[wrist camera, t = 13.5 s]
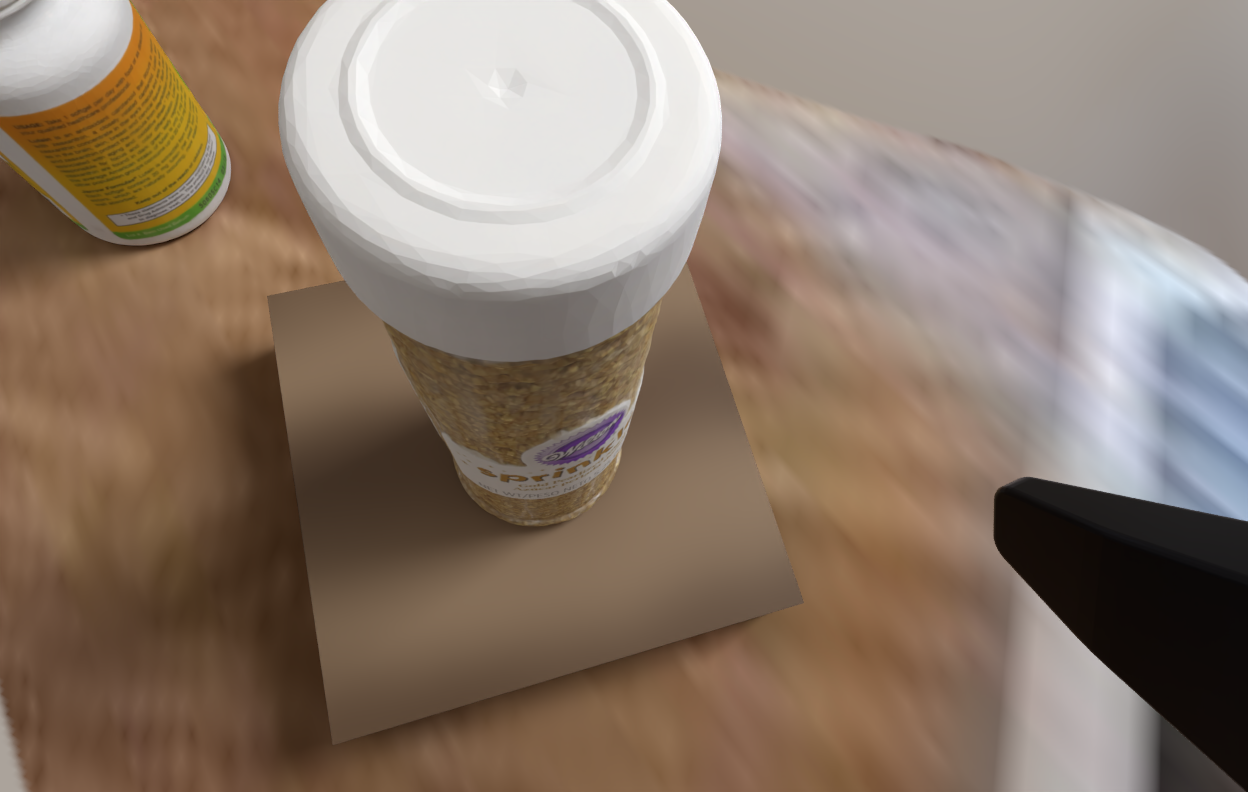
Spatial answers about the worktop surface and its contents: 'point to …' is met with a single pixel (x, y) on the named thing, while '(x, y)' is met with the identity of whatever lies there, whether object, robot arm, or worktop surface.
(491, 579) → the walnut block
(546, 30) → the sprinkles bottle
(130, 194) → the supplement bottle
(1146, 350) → the worktop surface
